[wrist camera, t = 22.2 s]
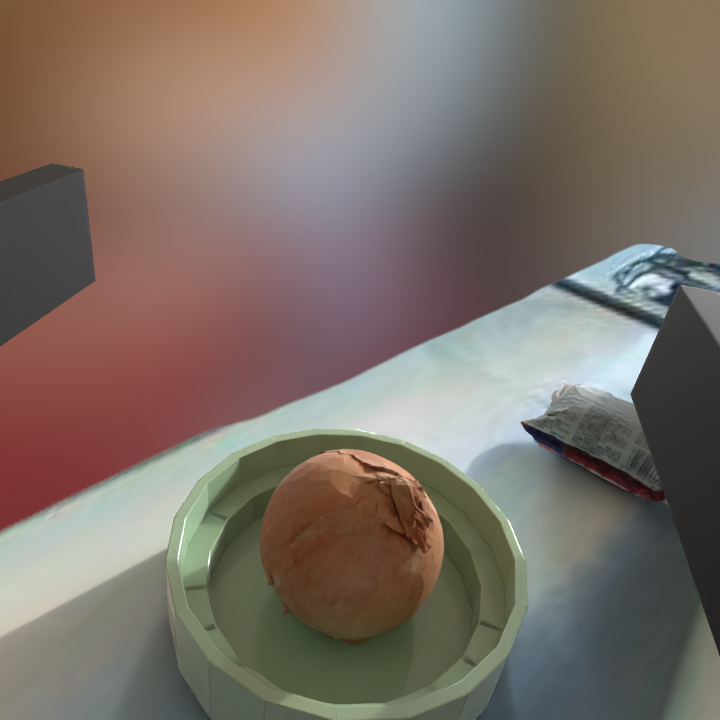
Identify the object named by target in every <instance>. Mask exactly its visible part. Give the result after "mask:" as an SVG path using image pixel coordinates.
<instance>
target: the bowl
mask: <svg viewBox="0 0 720 720" xmlns="http://www.w3.org/2000/svg"><path fill="white" fill-rule="evenodd" d="M340 449H354V450H361V451H366V452H370V453H373V454H376V455H378V456H381V457H383V458H385V459H387V460H389V461H391V462H393V463H395V464H397V465H398V466H400V467H401V468H403V469H404V470H406V471H407V472H408V473H410V474H411V475H412V476H413V478H414V479H416V480H418V483H419V484H420V485H421V486H422V487H423V489H424V492H425V493H426V494H427V496H428V497H429V499H430V500H431V502H432V504H433V506H434V508H435V509H436V512H437V515H438V517H439V520H440V523H441V526H442V531H443V539H444V553H443V559H442V566H441V570H440V573H439V576H438V579H437V581H436V584H435V586H434V588H433V590H432V592H431V593H430V595H429V597H428V598H427V599H426V601H425V602H424V603H423V605H422V606H421V607H420V608H419V609H418V610H417V611H416V612H415V614H414V615H413V616H412V617H411V618H410V619H409V620H408V621H406V622H405V623H403V624H402V625H400V626H398V627H397V628H395V629H394V630H391V631H389V632H386V633H384V634H381V635H378V636H374V637H371V638H370V639H369V641H368V642H367V641H366V642H365V643H361V644H360V645H349V644H347V643H346V642H341V641H339V640H338V639H333V638H331V636H328V635H326V634H324V633H321V632H319V631H317V630H315V629H313V628H310V627H308V626H307V625H305V624H304V623H302V622H301V621H300V620H298V619H297V618H296V617H295V616H294V615H292V614H290V613H289V611H288V612H287V613H286V614H285V615H284V616H283V615H282V601H281V600H280V598H279V597H278V595H277V593H276V592H275V590H274V588H273V586H272V585H271V586H269V585H268V580H267V577H266V574H265V571H264V568H263V565H262V562H261V556H260V547H259V546H260V533H261V525H262V521H263V518H264V514H265V512H266V509H267V506H268V504H269V501H270V498H271V497H272V495H273V493H274V491H275V490H276V488H277V487H278V485H279V484H280V483H281V481H282V480H283V479H284V478H285V477H286V476H287V475H288V474H289V473H290V472H291V471H292V470H293V469H294V468H295V467H296V466H298V465H300V464H301V463H303V462H305V461H306V460H308V459H310V458H312V457H314V456H317V455H319V453H320V452H323V451H332V450H340ZM165 569H166V584H167V600H168V615H169V623H170V628H171V633H172V639H173V644H174V649H175V654H176V659H177V664H178V668H179V671H180V673H181V674H182V676H183V677H184V679H185V681H186V682H187V684H188V685H189V687H190V688H191V690H192V692H193V693H194V695H195V696H196V698H197V699H198V701H199V703H200V704H201V706H202V707H203V709H204V710H205V712H206V714H207V715H208V717H209V718H210V719H211V720H475V719H476V718H477V717H478V716H479V715H480V714H481V713H482V712H483V711H484V710H485V709H486V707H487V706H488V703H489V701H490V699H491V696H492V694H493V692H494V689H495V687H496V685H497V682H498V680H499V677H500V675H501V673H502V670H503V668H504V666H505V663H506V661H507V659H508V656H509V654H510V651H511V649H512V646H513V644H514V641H515V639H516V636H517V634H518V631H519V629H520V626H521V624H522V621H523V619H524V616H525V614H526V611H527V578H526V562H525V559H524V557H523V554H522V552H521V549H520V547H519V544H518V542H517V539H516V537H515V535H514V532H513V530H512V527H511V525H510V522H509V521H508V519H507V518H506V516H505V515H504V514H503V513H502V512H501V510H500V509H499V508H498V507H497V505H496V504H495V503H494V502H493V500H492V499H491V498H490V497H489V496H488V494H487V493H486V492H485V491H484V489H483V488H482V487H481V486H480V485H479V484H477V483H476V482H475V481H473V480H472V479H471V478H469V477H468V476H467V475H465V474H464V473H463V472H461V471H460V470H459V469H457V468H456V467H455V466H453V465H452V464H451V463H449V462H448V461H447V460H445V459H444V458H441V457H439V456H437V455H435V454H433V453H430V452H428V451H426V450H424V449H422V448H419V447H417V446H415V445H413V444H411V443H408V442H406V441H403V440H400V439H396V438H391V437H387V436H383V435H378V434H374V433H370V432H366V431H360V430H337V429H313V430H307V431H301V432H295V433H290V434H284V435H278V436H274V437H270V438H268V439H265V440H263V441H261V442H258V443H256V444H254V445H251V446H249V447H246V448H244V449H242V450H239V451H237V452H235V453H233V454H231V455H230V456H229V457H228V458H226V459H225V460H224V461H222V462H221V463H220V464H219V465H217V466H216V467H215V468H214V469H212V470H211V471H210V472H208V473H207V474H206V475H205V476H203V477H202V478H201V479H200V480H199V481H198V482H197V484H196V485H195V487H194V488H193V490H192V491H191V493H190V494H189V496H188V497H187V499H186V500H185V502H184V503H183V505H182V506H181V508H180V509H179V511H178V512H177V514H176V515H175V518H174V521H173V526H172V531H171V536H170V540H169V545H168V550H167V555H166V560H165Z"/></svg>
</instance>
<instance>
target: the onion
mask: <svg viewBox="0 0 720 720" xmlns="http://www.w3.org/2000/svg"><path fill="white" fill-rule="evenodd" d="M259 547H260V556H261V562H262V565H263V568H264V571H265V574H266V577H267V580H268V585H269V586H271V585H272V586H273V588H274V590H275V592H276V593H277V595H278V597H279V598H280V600H281V601H282V615H283V616H284V615H285V614H286V613H287V612H288V611H289V613H290V614H292V615H294V616H295V617H296V618H297V619H298V620H300V621H301V622H302V623H304V624H305V625H307V626H308V627H310V628H313V629H315V630H317V631H319V632H321V633H324V634H326V635H328V636H331V638H333V639H338V640H339V641H341V642H346V643H347V644H349V645H360V644H361V643H365V642H366V641H367V642H368V641H369V639H370V638H371V637H374V636H378V635H381V634H384V633H386V632H389V631H391V630H394V629H395V628H397V627H398V626H400V625H402V624H403V623H405V622H406V621H408V620H409V619H410V618H411V617H412V616H413V615H414V614H415V612H416V611H417V610H418V609H419V608H420V607H421V606H422V605H423V603H424V602H425V601H426V599H427V598H428V597H429V595H430V593H431V592H432V590H433V588H434V586H435V584H436V581H437V579H438V576H439V573H440V570H441V566H442V559H443V553H444V539H443V531H442V526H441V523H440V520H439V517H438V515H437V512H436V509H435V508H434V506H433V504H432V502H431V500H430V499H429V497H428V496H427V494H426V493H425V492H424V489H423V487H422V486H421V485H420V484H419V483H418V480H416V479H414V478H413V476H412V475H411V474H410V473H408V472H407V471H406V470H404V469H403V468H401V467H400V466H398V465H397V464H395V463H393V462H391V461H389V460H387V459H385V458H383V457H381V456H378V455H376V454H373V453H370V452H366V451H361V450H354V449H340V450H332V451H323V452H320V453H319V455H317V456H314V457H312V458H310V459H308V460H306V461H305V462H303V463H301V464H300V465H298V466H296V467H295V468H294V469H293V470H292V471H291V472H290V473H289V474H288V475H287V476H286V477H285V478H284V479H283V480H282V481H281V483H280V484H279V485H278V487H277V488H276V490H275V491H274V493H273V495H272V497H271V498H270V501H269V504H268V506H267V509H266V512H265V514H264V518H263V521H262V525H261V533H260V546H259Z"/></svg>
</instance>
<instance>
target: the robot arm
mask: <svg viewBox="0 0 720 720" xmlns="http://www.w3.org/2000/svg"><path fill="white" fill-rule="evenodd" d="M94 281H95V271H94V263H93V253H92V244H91V236H90V226H89V217H88V208H87V199H86V190H85V180H84V171H83V169H79V168H74V167H69V166H64V165H58V164H53V163H51V164H48V165H46V166H43V167H40V168H37V169H34V170H32V171H29V172H26V173H23V174H20V175H18V176H15V177H12V178H9V179H6V180H4V181H1V182H0V346H1V345H3V344H4V343H6V342H7V341H8V340H10V339H11V338H13V337H14V336H16V335H17V334H19V333H20V332H22V331H23V330H25V329H26V328H27V327H29V326H30V325H32V324H33V323H34V322H36V321H38V320H39V319H40V318H42V317H43V316H45V315H46V314H48V313H49V312H51V311H52V310H53V309H55V308H56V307H58V306H59V305H61V304H62V303H64V302H65V301H67V300H68V299H70V298H71V297H72V296H74V295H75V294H77V293H78V292H80V291H81V290H83V289H84V288H86V287H87V286H88V285H90V284H91V283H93V282H94ZM631 397H632V400H633V403H634V406H635V409H636V412H637V415H638V417H639V420H640V423H641V426H642V429H643V432H644V435H645V438H646V441H647V444H648V447H649V450H650V453H651V456H652V459H653V461H654V464H655V467H656V470H657V473H658V476H659V479H660V482H661V485H662V488H663V491H664V494H665V497H666V500H667V503H668V505H669V508H670V511H671V514H672V517H673V520H674V523H675V526H676V529H677V532H678V535H679V538H680V541H681V544H682V547H683V550H684V552H685V555H686V558H687V561H688V564H689V567H690V570H691V573H692V576H693V579H694V582H695V585H696V588H697V591H698V594H699V596H700V599H701V602H702V605H703V608H704V611H705V614H706V617H707V620H708V623H709V626H710V629H711V632H712V635H713V638H714V640H715V643H716V646H717V649H718V652H719V655H720V294H719V292H715V291H710V290H705V289H700V288H695V287H690V286H684V285H679V287H678V289H677V291H676V294H675V296H674V298H673V300H672V303H671V305H670V307H669V309H668V312H667V314H666V316H665V318H664V321H663V323H662V325H661V327H660V329H659V332H658V334H657V336H656V338H655V341H654V343H653V345H652V347H651V350H650V352H649V354H648V356H647V358H646V361H645V363H644V365H643V367H642V370H641V372H640V374H639V376H638V379H637V381H636V383H635V385H634V388H633V390H632V392H631Z"/></svg>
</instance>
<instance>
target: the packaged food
mask: <svg viewBox="0 0 720 720" xmlns="http://www.w3.org/2000/svg"><path fill="white" fill-rule="evenodd" d="M564 381H565V378H564V379H563V383H562V385H561V387H560V390H556V391H554V392H553V394H552V402H551V404H550V407H549V408H548V409H547V411H546V412H545V414H544V415H543V416H540V417H537V418H534V419H530V420H526V421H522V422H521V424H522V425H523V427H524V429H525V430H526V431H527V432H528V433H529V434H531V435H532V436H533V438H534V440H535V441H536V442H537V443H538V444H539V445H540V446H541V447H543V448H545V449H547V450H549V451H551V452H553V453H555V454H557V455H559V456H561V457H564V458H566V459H568V460H570V461H572V462H574V463H577V464H579V465H581V466H583V467H584V468H586V469H587V470H589V471H590V472H592V473H594V474H596V475H598V476H600V477H602V478H603V479H605V480H607V481H609V482H611V483H613V484H615V485H617V486H618V487H620V488H622V489H624V490H626V491H629V492H631V493H634V494H635V495H637V496H639V497H642V498H644V499H645V500H648V501H655V502H664V503H666V505H668V503H667V500H666V497H665V494H664V491H663V488H662V485H661V482H660V479H659V476H658V473H657V470H656V467H655V464H654V461H653V459H652V456H651V453H650V450H649V447H648V444H647V441H646V438H645V435H644V432H643V429H642V426H641V423H640V420H639V417H638V415H637V412H636V409H635V406H634V404H632V403H630V402H628V401H625V400H622V399H619V398H616V397H614V396H613V395H612V394H611V393H608V392H605V391H602V390H599V389H596V388H593V387H589V386H584V385H580V384H578V385H571V384H565V383H564ZM558 392H559V393H558ZM668 506H669V505H668Z"/></svg>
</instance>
